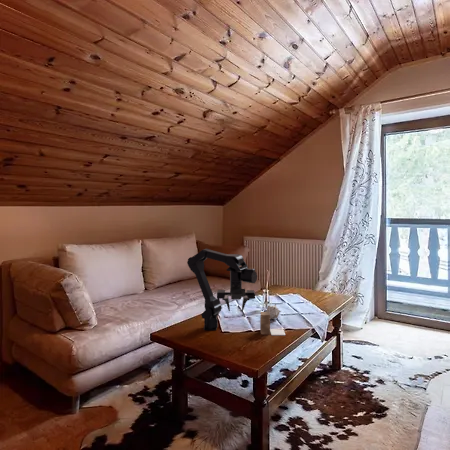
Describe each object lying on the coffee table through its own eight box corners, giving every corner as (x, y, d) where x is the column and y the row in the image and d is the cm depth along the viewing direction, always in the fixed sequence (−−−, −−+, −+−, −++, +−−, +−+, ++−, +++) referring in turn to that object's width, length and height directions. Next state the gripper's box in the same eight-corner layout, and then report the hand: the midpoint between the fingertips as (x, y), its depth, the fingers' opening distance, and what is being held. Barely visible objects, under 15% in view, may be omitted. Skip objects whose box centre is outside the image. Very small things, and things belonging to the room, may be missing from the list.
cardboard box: (260, 334, 176) (261, 314, 176) (260, 330, 181) (260, 311, 180) (270, 334, 176) (270, 315, 175) (269, 330, 181) (269, 311, 180)
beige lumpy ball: (275, 326, 196) (280, 316, 190) (261, 320, 198) (265, 309, 191) (279, 314, 203) (284, 304, 197) (265, 308, 204) (270, 297, 198)
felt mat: (271, 335, 175) (271, 334, 175) (269, 329, 182) (269, 329, 182) (285, 335, 175) (285, 334, 175) (283, 329, 182) (283, 329, 182)
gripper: (216, 284, 165) (216, 316, 167) (256, 284, 165) (255, 317, 167) (217, 278, 176) (217, 309, 178) (254, 279, 176) (254, 309, 178)
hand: (235, 311), depth 175 cm, fingers open, 6 cm apart
